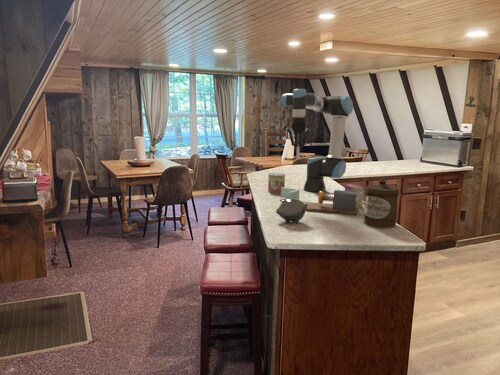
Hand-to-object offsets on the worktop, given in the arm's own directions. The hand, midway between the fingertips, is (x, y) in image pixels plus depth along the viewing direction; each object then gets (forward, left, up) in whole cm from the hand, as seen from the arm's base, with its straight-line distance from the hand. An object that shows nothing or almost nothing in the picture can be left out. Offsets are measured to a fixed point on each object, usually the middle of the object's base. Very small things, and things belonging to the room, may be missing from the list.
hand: (298, 157), depth 226 cm
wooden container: (+31, +47, -27) cm, 62 cm away
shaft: (+10, +25, -24) cm, 36 cm away
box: (-5, +33, -27) cm, 43 cm away
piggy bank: (+43, +6, -27) cm, 51 cm away
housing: (+10, +29, -25) cm, 40 cm away
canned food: (-30, -19, -27) cm, 45 cm away
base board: (+10, +17, -27) cm, 33 cm away
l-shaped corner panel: (-3, -7, -28) cm, 29 cm away
